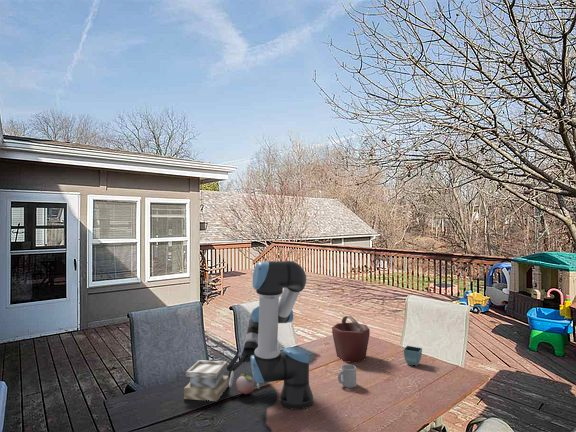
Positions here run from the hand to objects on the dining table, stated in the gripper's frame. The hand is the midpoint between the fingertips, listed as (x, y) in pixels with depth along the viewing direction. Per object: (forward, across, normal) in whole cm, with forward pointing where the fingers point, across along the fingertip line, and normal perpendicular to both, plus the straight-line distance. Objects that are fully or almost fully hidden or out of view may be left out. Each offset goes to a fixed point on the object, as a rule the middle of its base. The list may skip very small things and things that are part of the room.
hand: (243, 386), depth 161 cm
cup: (-10, -48, -17) cm, 52 cm away
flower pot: (-34, -87, -41) cm, 102 cm away
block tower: (+2, +19, -5) cm, 20 cm away
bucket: (-38, -51, -45) cm, 78 cm away
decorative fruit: (+2, 0, -5) cm, 5 cm away
